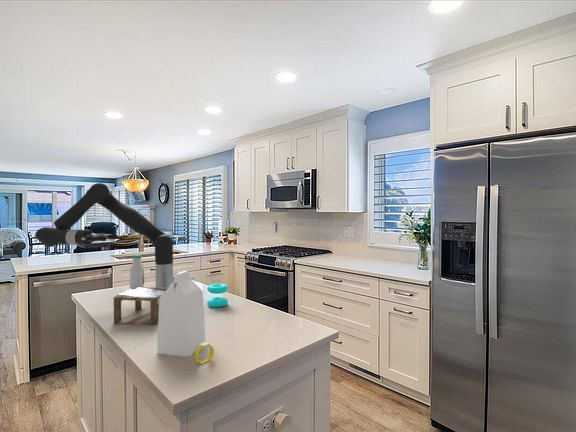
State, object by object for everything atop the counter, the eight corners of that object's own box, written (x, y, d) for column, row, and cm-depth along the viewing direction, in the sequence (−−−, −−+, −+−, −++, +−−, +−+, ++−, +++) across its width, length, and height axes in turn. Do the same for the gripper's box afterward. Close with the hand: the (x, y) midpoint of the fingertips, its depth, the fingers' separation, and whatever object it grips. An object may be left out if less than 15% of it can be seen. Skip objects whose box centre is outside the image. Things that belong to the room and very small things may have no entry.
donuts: (218, 282, 169) (232, 284, 163) (218, 301, 169) (232, 304, 163) (203, 285, 161) (216, 288, 155) (203, 305, 161) (216, 309, 155)
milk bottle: (140, 289, 192) (140, 256, 192) (127, 289, 192) (127, 256, 192) (146, 286, 200) (146, 254, 199) (133, 286, 200) (133, 254, 199)
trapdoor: (114, 301, 138) (115, 293, 138) (131, 293, 151) (132, 286, 151) (151, 306, 137) (152, 299, 136) (166, 298, 150) (167, 291, 150)
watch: (198, 367, 99) (197, 348, 98) (193, 364, 100) (192, 346, 100) (215, 359, 103) (214, 341, 102) (210, 357, 105) (209, 339, 104)
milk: (188, 356, 105) (188, 276, 105) (157, 353, 108) (156, 275, 107) (205, 341, 117) (205, 269, 117) (176, 339, 119) (176, 268, 119)
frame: (113, 323, 136) (113, 297, 135) (137, 310, 154) (137, 286, 153) (155, 324, 134) (155, 298, 134) (174, 311, 152) (174, 287, 152)
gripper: (68, 230, 149) (101, 230, 148) (89, 228, 163) (120, 229, 162) (68, 246, 149) (101, 247, 148) (90, 243, 163) (120, 244, 162)
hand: (111, 237), depth 155 cm, fingers open, 8 cm apart
